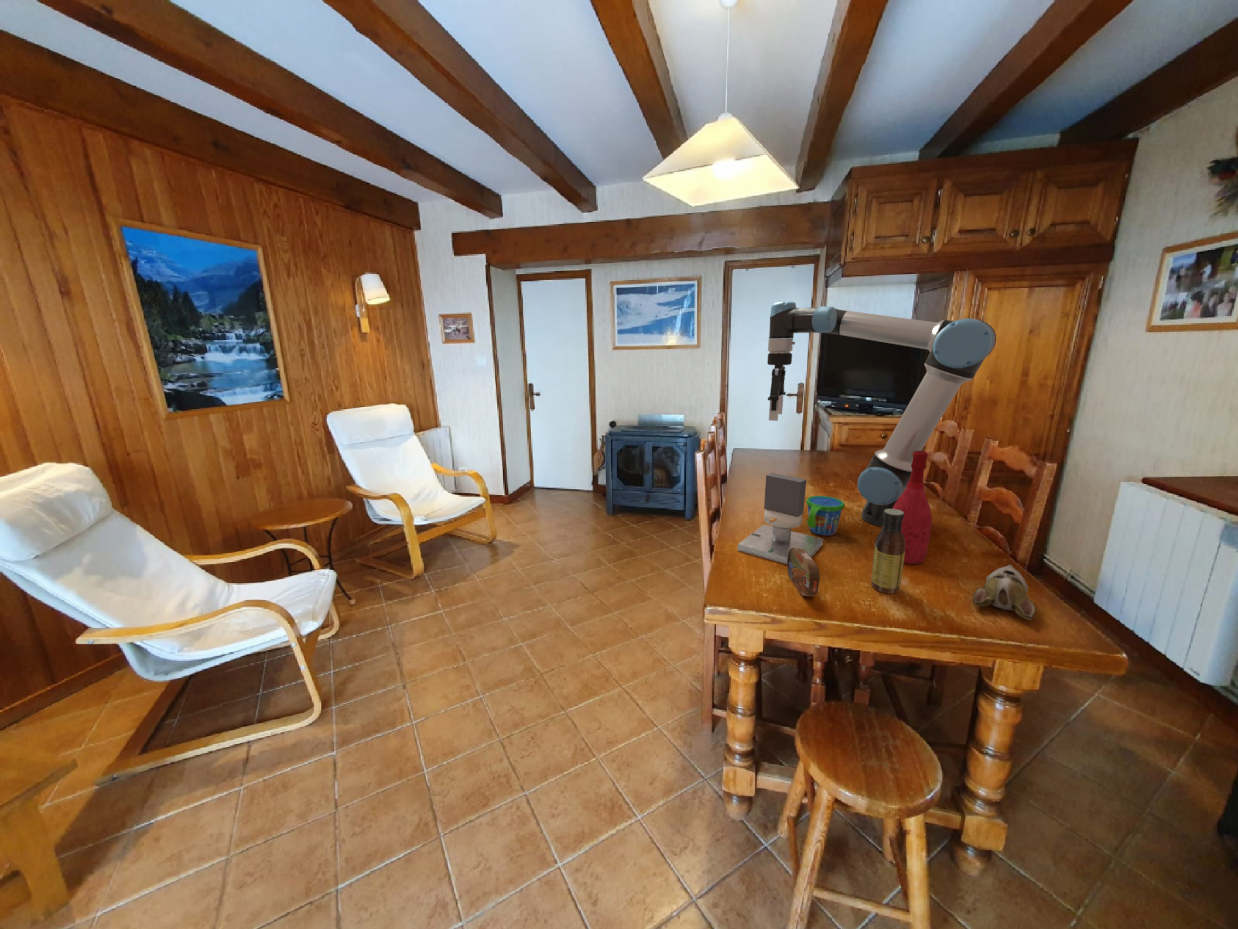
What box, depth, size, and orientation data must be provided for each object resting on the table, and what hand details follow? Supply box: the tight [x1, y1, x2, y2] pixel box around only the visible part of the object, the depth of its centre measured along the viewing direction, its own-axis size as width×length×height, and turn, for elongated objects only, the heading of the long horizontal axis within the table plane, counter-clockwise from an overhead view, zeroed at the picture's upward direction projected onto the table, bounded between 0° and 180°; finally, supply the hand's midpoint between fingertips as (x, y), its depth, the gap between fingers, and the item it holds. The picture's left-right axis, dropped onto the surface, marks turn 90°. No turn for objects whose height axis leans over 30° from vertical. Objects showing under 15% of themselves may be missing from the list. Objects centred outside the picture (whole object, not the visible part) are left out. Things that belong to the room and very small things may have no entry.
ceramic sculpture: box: [972, 564, 1037, 621], centre depth 103 cm, size 11×9×15 cm
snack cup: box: [805, 495, 846, 537], centre depth 144 cm, size 16×10×10 cm
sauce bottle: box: [870, 509, 906, 594], centre depth 110 cm, size 6×6×20 cm
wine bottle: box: [892, 450, 933, 565], centre depth 123 cm, size 10×10×30 cm
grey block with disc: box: [763, 472, 807, 529], centre depth 130 cm, size 12×10×13 cm
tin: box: [786, 548, 821, 597], centre depth 113 cm, size 15×3×8 cm, turn 178°
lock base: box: [737, 524, 824, 565], centre depth 134 cm, size 18×18×8 cm
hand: (775, 417), depth 157 cm, fingers open, 13 cm apart
